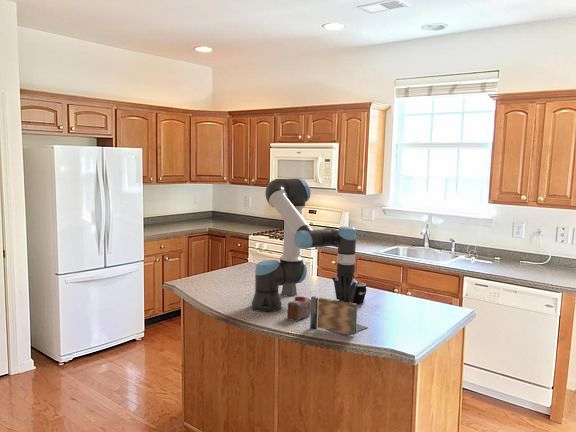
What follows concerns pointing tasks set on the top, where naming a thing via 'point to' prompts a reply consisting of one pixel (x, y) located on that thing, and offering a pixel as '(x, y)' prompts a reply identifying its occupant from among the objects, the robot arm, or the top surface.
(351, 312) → the gate
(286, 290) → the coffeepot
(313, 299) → the gate post
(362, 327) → the mat
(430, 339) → the top surface
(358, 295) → the mug
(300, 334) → the top surface
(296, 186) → the robot arm
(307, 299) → the food item
